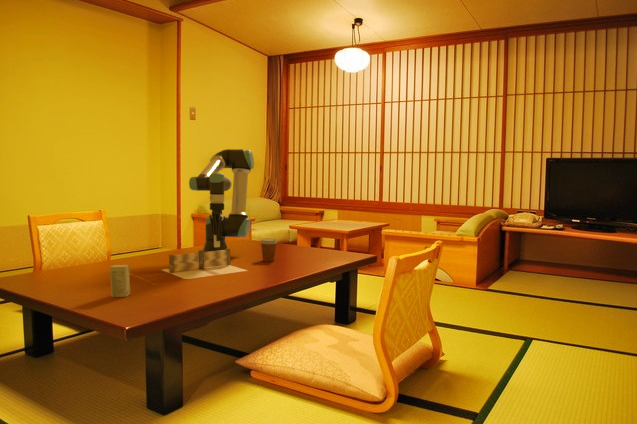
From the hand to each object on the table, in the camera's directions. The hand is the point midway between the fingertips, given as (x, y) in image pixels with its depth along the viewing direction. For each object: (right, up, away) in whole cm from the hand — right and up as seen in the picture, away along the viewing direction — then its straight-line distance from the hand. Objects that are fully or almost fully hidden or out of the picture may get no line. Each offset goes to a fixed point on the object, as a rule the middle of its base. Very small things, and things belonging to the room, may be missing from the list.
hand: (216, 247), depth 265 cm
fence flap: (+1, -10, -5) cm, 11 cm away
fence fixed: (-12, -11, -15) cm, 22 cm away
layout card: (-4, -11, -13) cm, 18 cm away
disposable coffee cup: (+26, -9, +19) cm, 33 cm away
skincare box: (-25, -15, -65) cm, 72 cm away
